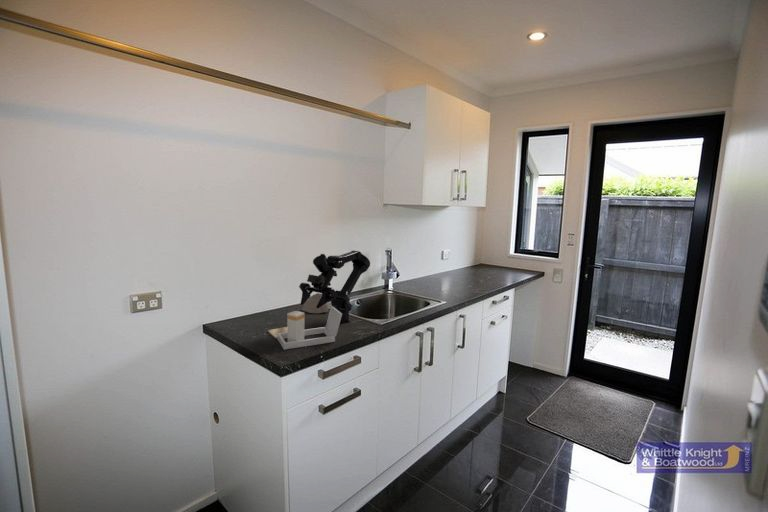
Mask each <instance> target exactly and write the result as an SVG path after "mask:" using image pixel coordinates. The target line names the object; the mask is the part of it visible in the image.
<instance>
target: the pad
mask: <svg viewBox="0 0 768 512" xmlns="http://www.w3.org/2000/svg"><path fill="white" fill-rule="evenodd" d="M267 332H268V333H269V334H270V335H271V336H272V337H274V339H277V333H283V332H288V327H287V326H284V327H278V328H273V329H268V330H267Z"/></svg>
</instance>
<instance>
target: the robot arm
mask: <svg viewBox="0 0 768 512" xmlns="http://www.w3.org/2000/svg"><path fill="white" fill-rule="evenodd" d="M349 262H351V263H352V271H351V273H350V274H349V276H348V277H347V279H346V281H345V283H344V285H342V287H341V289H340V290H338V289H337V290H336V289H334V288H333V287H331V285H332V284H331V281H332V279H333V278H334V277H338V273H337V269H341V268H343V267H344V266H345V265H346V264H348V263H349ZM312 264H313V265H314V267H315V268H316V269H317V271H318V272H319V273H320V274H319V275H315V274H308V277H307V280H306V282H307V283H306V282H301V283H300V285H299V286H298V288H299V289H300V290H301V299H300V305H301V306H303V304H304V303H305V302H306V301H307V299H308V298H309V297H311V296H312V295H311V294H313V293H319V294H322V297H321V299H320V301H319V302H318V304H317V307H316V308H317V309H318V308H320V307H321V306H322V305H324V304H325V303H327V302H328V303H329V302H330V303H331V306H332V307H334V308H335V309H337V310H338V311H339V312H340V313H342V317H341V320H340V324H346V323H350V322H351V320H350V319H349V317H350V316H349V314H350V312H351V311H352V308H353V305H352V303H350V300H351V298H350V297H351V293H352V291H353V290H354V288H355V286H356V284H357V282H358V281H359V279H360V277H361V275H362V274H364V273H365V272H367V271H368V269H369V268H370V267H371V261H370V259H369V257H367V256H366V255H364V254H363V253H362V252H361V251H360V250H350V251H349V252H346V253H343V254H340V255H329V256H326V254H325V253H320V255H317V256H316V257H315V258H313V259H312ZM335 269H336V270H335ZM310 283H311V284H310Z"/></svg>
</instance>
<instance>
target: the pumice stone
mask: <svg viewBox="0 0 768 512" xmlns="http://www.w3.org/2000/svg"><path fill="white" fill-rule="evenodd" d="M321 297H322V293H318V292H315V294H312V295H311V296H310V297H309V298H308V299H307V301H306V302H305V303H304V304H303V305H302V307H301V312H304V313H310V314H322V313H328V312H329V310H330V304H329V302H327V303H325V304H324V305H322V306H321V307H320V308H318V309H317V308H316V307H317V304H318V302H319V301H320V299H321Z"/></svg>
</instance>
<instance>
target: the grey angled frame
mask: <svg viewBox="0 0 768 512" xmlns="http://www.w3.org/2000/svg"><path fill="white" fill-rule="evenodd" d="M328 312H329V313H328V317H327V320H326V324H325V326H323V327H322V326H321V327H316V328H315V327H314V328H307V329H305V328H304V337H307V336H311V335H312V336H313V335H319V334H325V336H320V337H316V338H307V339H304V340H300V341H293V342H288V341H286V339H288V332H283V333H277V338H276V339H277V341H278V342H279V344H280V345H281V347H282V349H283V350H289V349H296V348H303V347H309V346H315V345H322V344H329V343H334V342H336V336H337V335H338V330H339V329H340V328H339V327H340V325H341V323H340V320H341V317H342V313H340V312H339V311H338V310H337V309H335V308H334V307H332V305H331V306H330V307H329V311H328Z"/></svg>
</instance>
